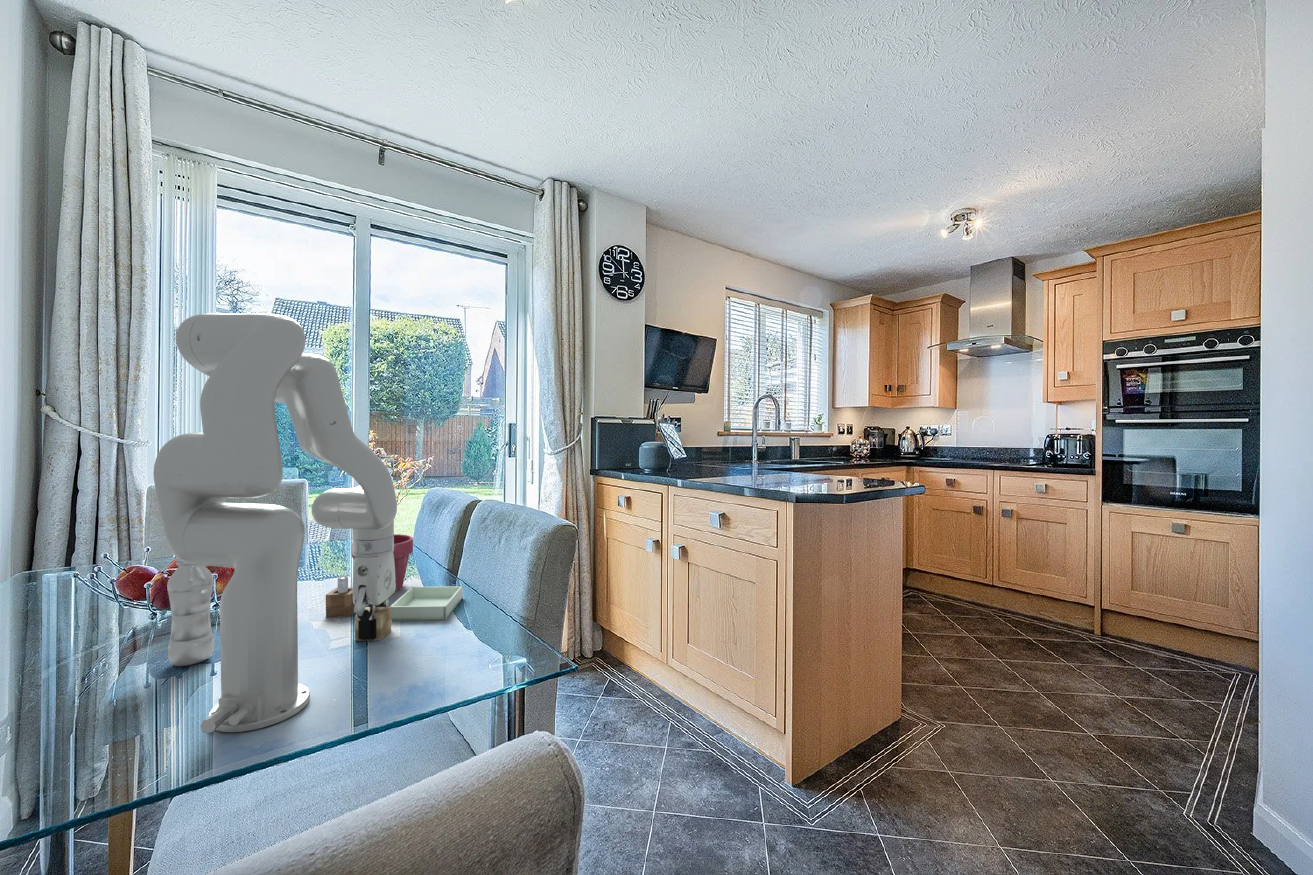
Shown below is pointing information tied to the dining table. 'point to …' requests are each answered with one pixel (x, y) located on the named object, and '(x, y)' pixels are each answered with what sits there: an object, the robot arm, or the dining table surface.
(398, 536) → the plant pot
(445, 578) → the dining table surface
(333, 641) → the dining table surface
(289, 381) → the robot arm
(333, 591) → the walnut block
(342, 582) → the pin
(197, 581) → the plastic bottle
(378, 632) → the oak block
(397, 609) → the tray
